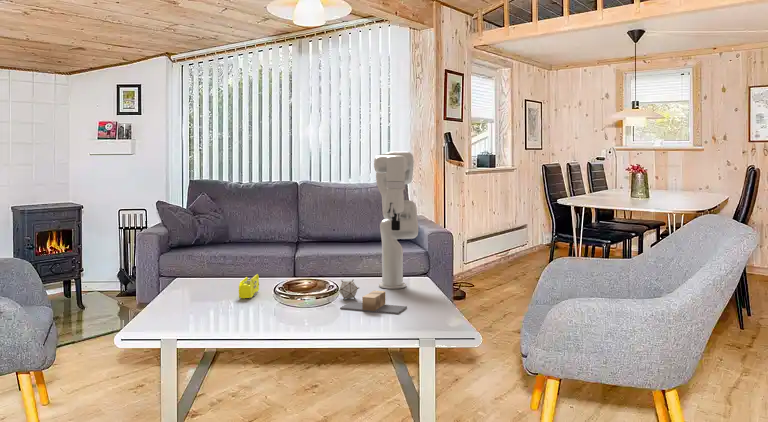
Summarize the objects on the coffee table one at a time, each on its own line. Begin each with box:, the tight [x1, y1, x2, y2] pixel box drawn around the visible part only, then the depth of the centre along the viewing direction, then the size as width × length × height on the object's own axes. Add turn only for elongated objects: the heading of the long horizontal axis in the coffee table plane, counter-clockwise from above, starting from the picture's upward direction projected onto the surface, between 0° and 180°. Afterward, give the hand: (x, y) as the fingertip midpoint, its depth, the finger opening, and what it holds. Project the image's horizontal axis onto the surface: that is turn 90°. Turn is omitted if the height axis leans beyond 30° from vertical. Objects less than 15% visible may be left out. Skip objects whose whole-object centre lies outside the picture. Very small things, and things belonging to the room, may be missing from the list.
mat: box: [339, 301, 408, 315], centre depth 231 cm, size 10×24×1 cm, turn 70°
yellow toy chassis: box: [238, 273, 260, 299], centre depth 254 cm, size 16×6×8 cm, turn 0°
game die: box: [338, 279, 360, 301], centre depth 247 cm, size 9×8×10 cm
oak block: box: [361, 290, 386, 311], centre depth 231 cm, size 5×5×12 cm
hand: (395, 230), depth 244 cm, fingers closed
